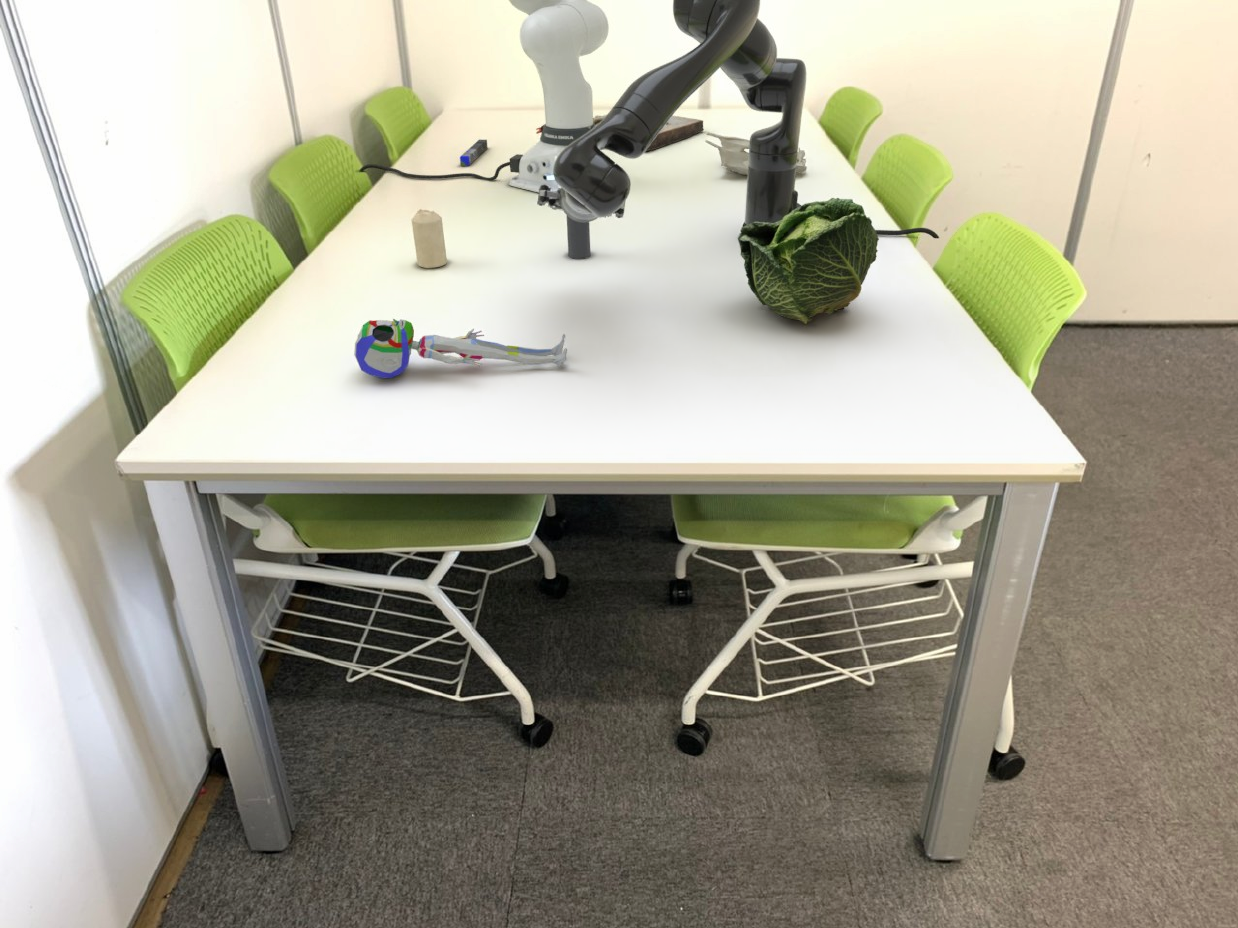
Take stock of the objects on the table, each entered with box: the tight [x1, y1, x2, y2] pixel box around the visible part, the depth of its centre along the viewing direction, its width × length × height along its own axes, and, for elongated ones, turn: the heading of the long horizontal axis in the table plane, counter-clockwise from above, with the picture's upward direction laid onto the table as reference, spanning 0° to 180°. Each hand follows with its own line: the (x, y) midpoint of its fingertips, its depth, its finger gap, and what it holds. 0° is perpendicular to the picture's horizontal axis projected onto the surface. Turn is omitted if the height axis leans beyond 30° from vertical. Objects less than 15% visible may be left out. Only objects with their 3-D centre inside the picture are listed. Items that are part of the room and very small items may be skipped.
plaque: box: [593, 114, 705, 153], centre depth 257 cm, size 30×7×30 cm
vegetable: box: [737, 197, 879, 325], centre depth 143 cm, size 20×19×20 cm
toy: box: [353, 318, 568, 379], centre depth 130 cm, size 10×8×30 cm
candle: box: [411, 209, 448, 269], centre depth 167 cm, size 6×6×10 cm
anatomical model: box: [705, 131, 808, 176], centre depth 220 cm, size 15×9×25 cm
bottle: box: [566, 215, 591, 260], centre depth 169 cm, size 4×4×15 cm
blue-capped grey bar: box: [459, 139, 488, 167], centre depth 240 cm, size 2×2×20 cm
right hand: (579, 207), depth 153 cm, fingers open, 8 cm apart
